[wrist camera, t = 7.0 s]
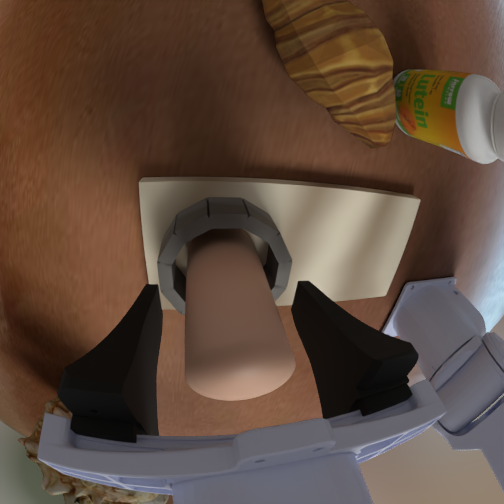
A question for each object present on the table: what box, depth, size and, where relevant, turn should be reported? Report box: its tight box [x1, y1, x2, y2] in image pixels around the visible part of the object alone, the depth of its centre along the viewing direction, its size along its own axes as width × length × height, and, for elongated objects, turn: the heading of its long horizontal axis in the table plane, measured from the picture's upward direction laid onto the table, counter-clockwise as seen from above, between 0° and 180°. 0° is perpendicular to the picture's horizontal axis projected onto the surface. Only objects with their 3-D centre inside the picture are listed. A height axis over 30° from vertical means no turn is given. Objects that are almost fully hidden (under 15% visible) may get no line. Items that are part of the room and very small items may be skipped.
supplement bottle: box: [393, 69, 504, 164], centre depth 11 cm, size 5×5×10 cm
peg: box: [185, 229, 296, 400], centre depth 14 cm, size 4×4×9 cm
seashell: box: [18, 397, 168, 504], centre depth 20 cm, size 18×18×15 cm
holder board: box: [139, 177, 421, 315], centre depth 18 cm, size 20×10×4 cm, turn 85°
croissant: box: [262, 0, 396, 148], centre depth 11 cm, size 14×7×5 cm, turn 35°
